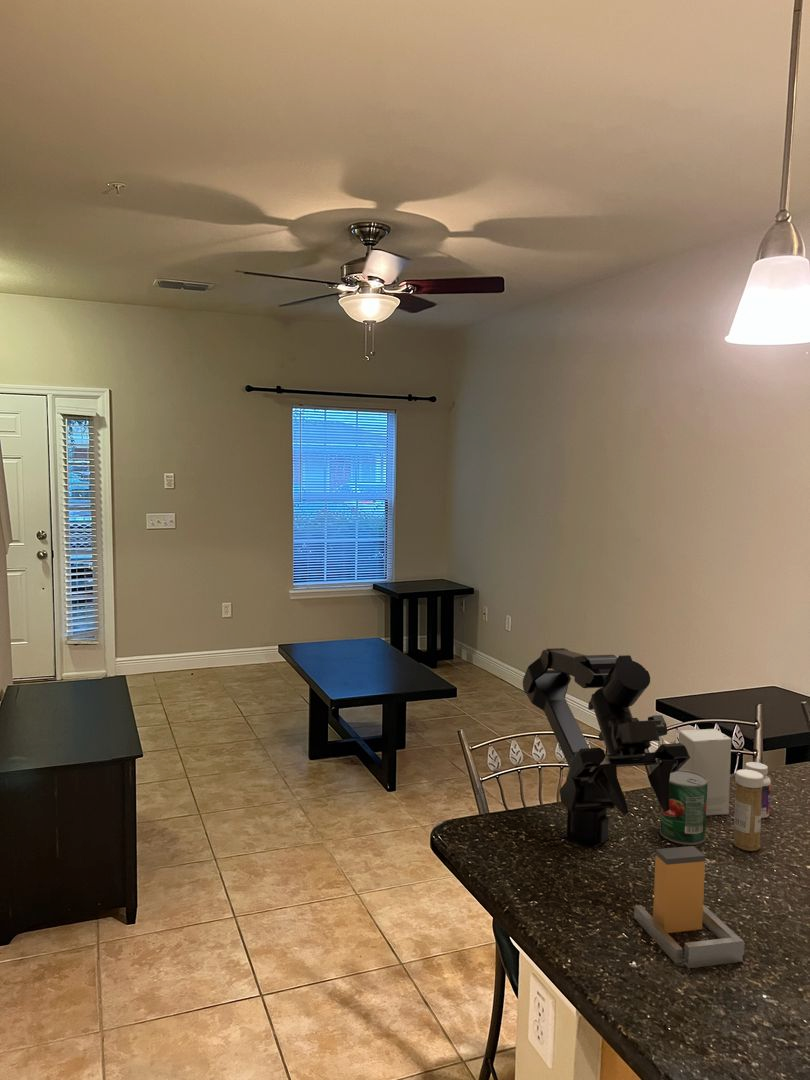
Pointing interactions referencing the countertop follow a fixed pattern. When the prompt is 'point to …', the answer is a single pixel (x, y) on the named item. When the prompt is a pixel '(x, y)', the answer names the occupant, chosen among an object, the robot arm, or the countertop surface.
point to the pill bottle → (765, 788)
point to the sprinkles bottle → (748, 809)
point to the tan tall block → (679, 888)
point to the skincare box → (710, 764)
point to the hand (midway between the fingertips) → (646, 812)
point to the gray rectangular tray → (698, 952)
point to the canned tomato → (685, 808)
